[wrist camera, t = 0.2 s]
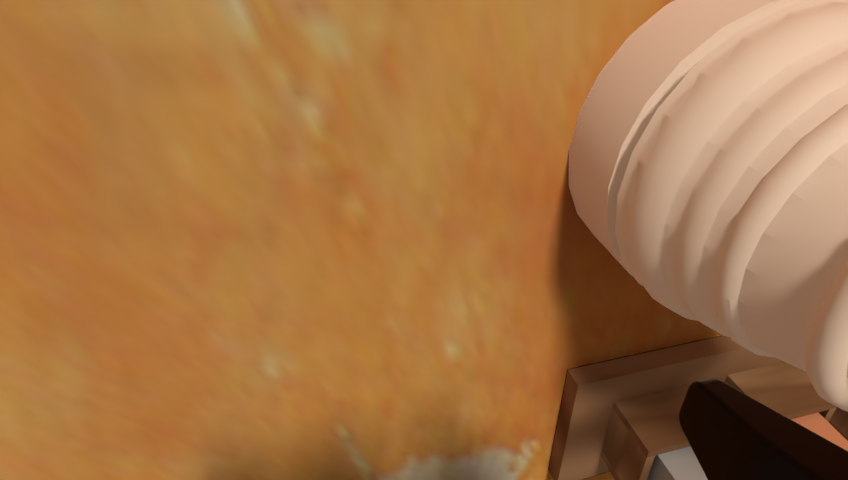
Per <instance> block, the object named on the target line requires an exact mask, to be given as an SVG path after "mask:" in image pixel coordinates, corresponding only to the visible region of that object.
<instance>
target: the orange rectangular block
mask: <svg viewBox="0 0 848 480" xmlns="http://www.w3.org/2000/svg"><path fill="white" fill-rule="evenodd" d="M791 420H793V421H795V422H796V423H798V424H800V425H802V426H804V427H805V428H807V429H809V430H811V431H813V432H814V433H816V434H818V435H820V436H822V437H823V438H825V439H827V440H829V441H831V442H832V443H834V444H836V445H838V446H840V447H841V448H843V449H845V450H847V451H848V441H847V440H846V439H845V438H844V437H843V436H842V435H841V434H840V433H839V432H838V431H837V430H836V429H835V428H834V427H833V426H832V425H831V424H830V423H829V422H828V421H827V420H826V419H825V418H824V417H823V416H822V415H820V414H819V413H814V414H810V415H807V416H803V417H799V418H795V419H791Z"/></svg>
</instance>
